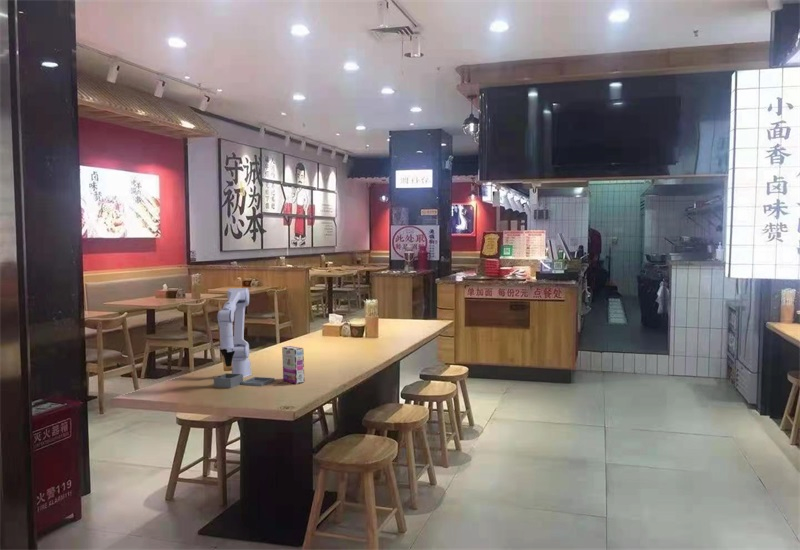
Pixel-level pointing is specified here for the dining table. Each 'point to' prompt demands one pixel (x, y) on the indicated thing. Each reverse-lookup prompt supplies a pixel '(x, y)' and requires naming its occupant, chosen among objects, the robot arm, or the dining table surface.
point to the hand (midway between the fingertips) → (227, 365)
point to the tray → (257, 381)
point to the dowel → (228, 368)
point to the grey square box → (228, 380)
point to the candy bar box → (293, 364)
